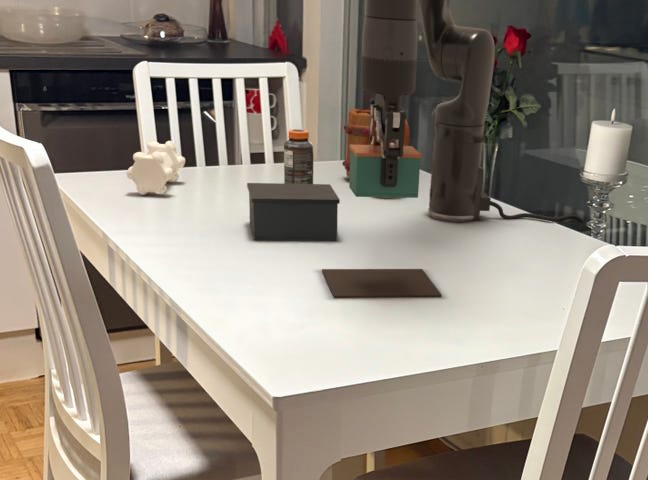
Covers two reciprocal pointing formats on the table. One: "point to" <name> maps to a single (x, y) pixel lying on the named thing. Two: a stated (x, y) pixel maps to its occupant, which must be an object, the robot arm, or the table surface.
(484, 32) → the robot arm
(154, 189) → the white bone
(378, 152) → the orange and teal box
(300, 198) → the bottom box
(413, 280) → the mat
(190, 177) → the table surface
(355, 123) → the mug
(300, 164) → the pill bottle
